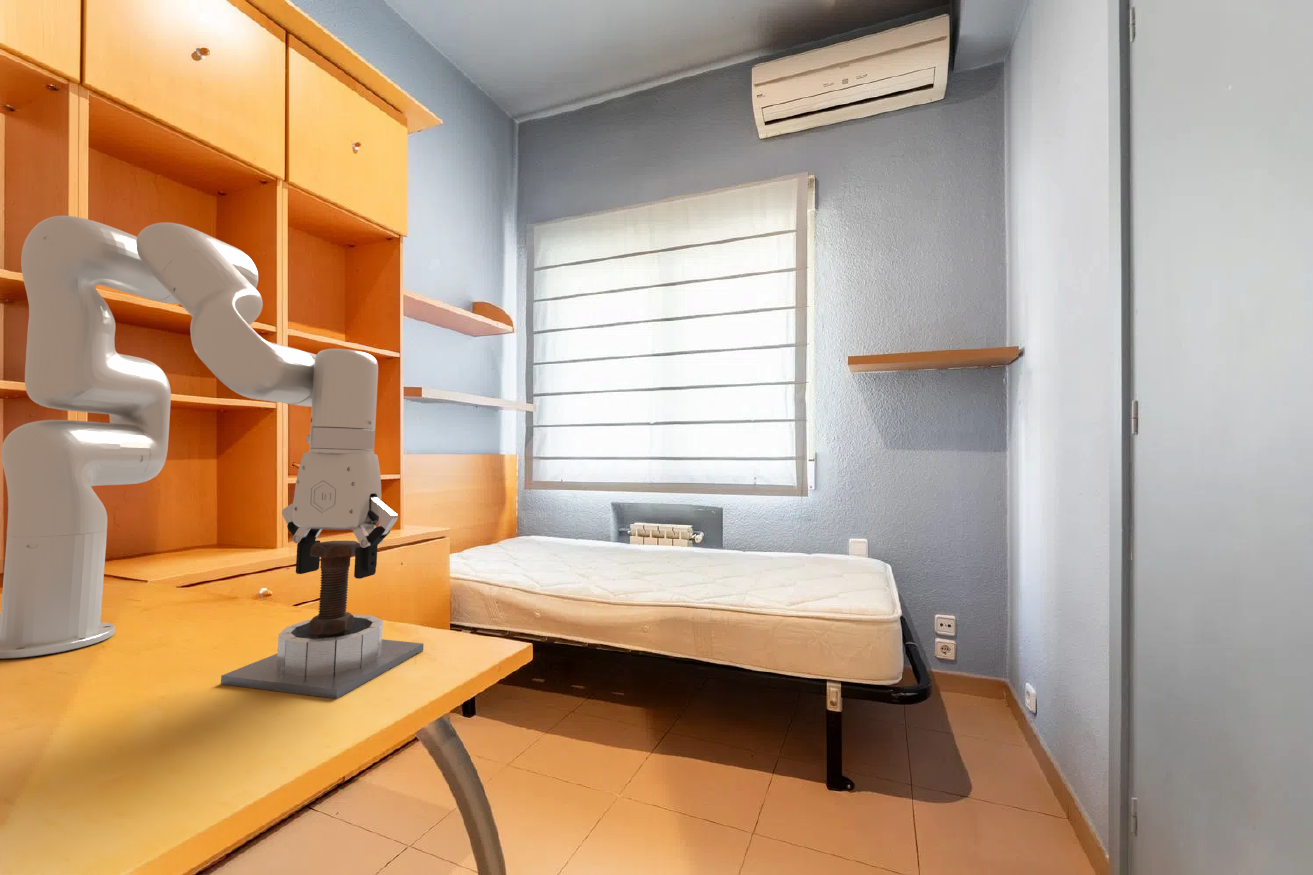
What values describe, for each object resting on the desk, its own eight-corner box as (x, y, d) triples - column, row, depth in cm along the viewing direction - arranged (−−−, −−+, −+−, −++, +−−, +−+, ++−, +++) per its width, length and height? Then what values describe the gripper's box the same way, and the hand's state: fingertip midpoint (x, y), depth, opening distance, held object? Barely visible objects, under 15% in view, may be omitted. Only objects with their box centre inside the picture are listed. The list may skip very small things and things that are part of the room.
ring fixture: (220, 683, 64) (223, 641, 64) (326, 640, 79) (328, 606, 80) (336, 698, 61) (339, 654, 61) (423, 650, 76) (424, 615, 77)
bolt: (296, 660, 69) (303, 543, 70) (332, 648, 74) (339, 539, 75) (326, 667, 67) (333, 546, 68) (362, 655, 71) (368, 542, 72)
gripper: (262, 440, 69) (254, 575, 69) (380, 443, 66) (373, 585, 65) (310, 442, 77) (303, 564, 76) (418, 445, 73) (412, 572, 73)
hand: (336, 573), depth 71 cm, fingers open, 8 cm apart
